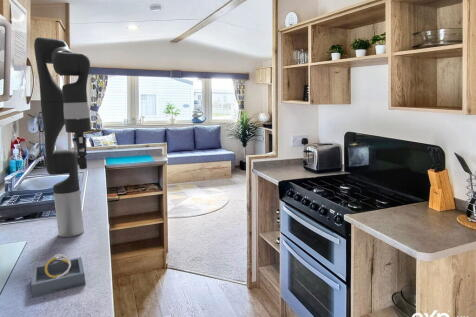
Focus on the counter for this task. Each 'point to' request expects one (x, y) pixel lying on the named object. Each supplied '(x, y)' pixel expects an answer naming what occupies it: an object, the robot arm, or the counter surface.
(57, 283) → the dish
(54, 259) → the ring
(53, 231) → the counter surface
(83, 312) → the counter surface
